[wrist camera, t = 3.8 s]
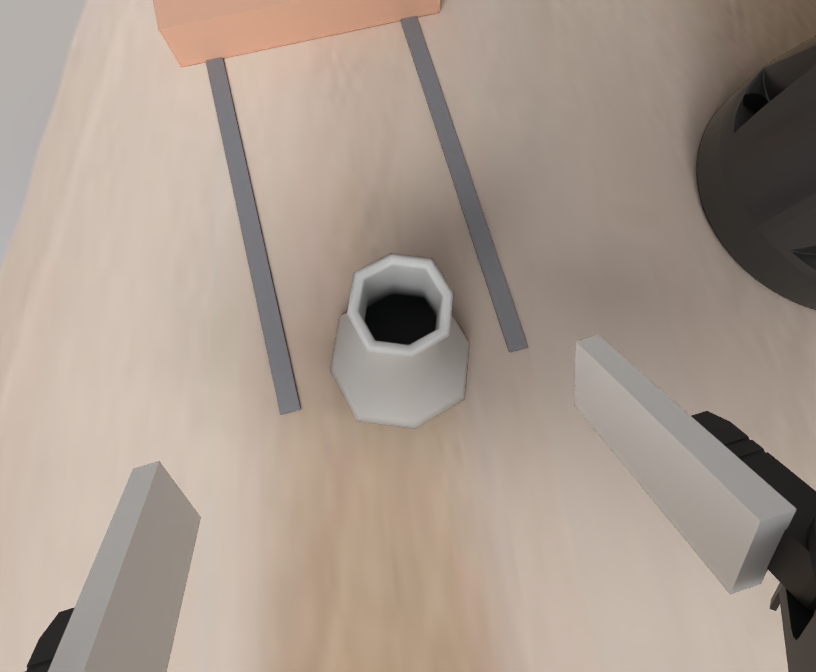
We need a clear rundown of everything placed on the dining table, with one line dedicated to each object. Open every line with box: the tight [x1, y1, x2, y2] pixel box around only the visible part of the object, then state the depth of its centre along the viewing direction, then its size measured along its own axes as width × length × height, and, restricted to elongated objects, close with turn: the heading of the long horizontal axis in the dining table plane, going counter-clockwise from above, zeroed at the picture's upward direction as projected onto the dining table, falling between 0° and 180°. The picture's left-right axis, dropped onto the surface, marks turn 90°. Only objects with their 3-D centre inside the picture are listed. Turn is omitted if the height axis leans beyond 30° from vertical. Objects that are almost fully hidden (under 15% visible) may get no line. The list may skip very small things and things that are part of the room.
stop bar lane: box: [153, 0, 528, 415], centre depth 23 cm, size 16×24×2 cm
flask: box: [330, 253, 470, 429], centre depth 18 cm, size 7×7×10 cm
